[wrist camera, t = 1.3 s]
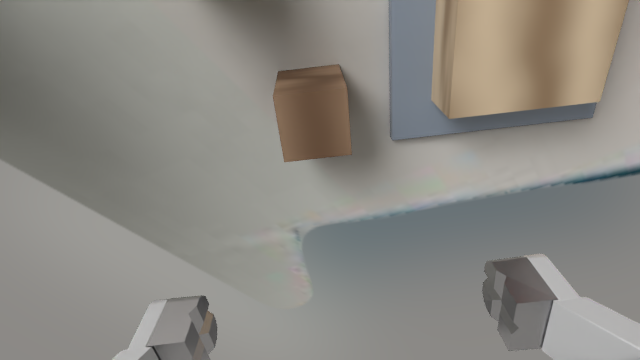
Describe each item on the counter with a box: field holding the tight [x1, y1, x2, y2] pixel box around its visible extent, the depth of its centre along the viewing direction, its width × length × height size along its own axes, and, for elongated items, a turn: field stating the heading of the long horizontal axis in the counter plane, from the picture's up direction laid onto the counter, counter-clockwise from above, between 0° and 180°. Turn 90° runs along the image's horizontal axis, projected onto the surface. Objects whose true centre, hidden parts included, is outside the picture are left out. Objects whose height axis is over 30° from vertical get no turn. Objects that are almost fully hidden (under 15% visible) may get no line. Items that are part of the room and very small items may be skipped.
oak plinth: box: [431, 0, 629, 119], centre depth 24 cm, size 10×10×5 cm
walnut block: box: [273, 64, 352, 162], centre depth 26 cm, size 4×4×6 cm
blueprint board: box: [389, 0, 597, 140], centre depth 26 cm, size 16×16×1 cm
